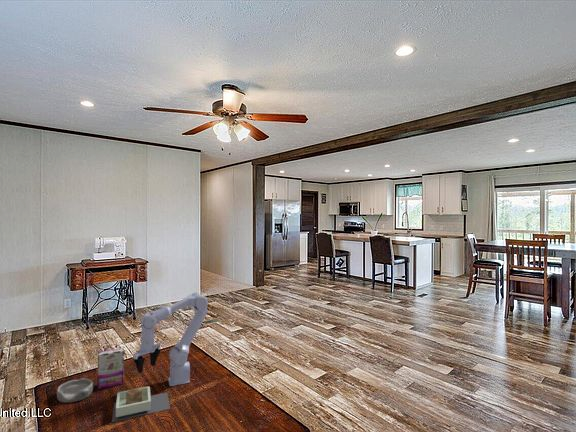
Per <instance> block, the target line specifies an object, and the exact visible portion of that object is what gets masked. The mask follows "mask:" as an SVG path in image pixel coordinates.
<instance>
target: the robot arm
mask: <svg viewBox="0 0 576 432" xmlns="http://www.w3.org/2000/svg"><path fill="white" fill-rule="evenodd" d="M208 305H209V301H208V299H207V296H204V295H202V294H200V293H198V292H193V293H192V294H188V295H187V296H186V297H184V298H182V299H180V300H179V301H177V302H175V303H173V304H172V305H169V306H168V305H164V306H163V305H161V306H160V308H158V309H155V310H152V311H150V312H148V313H144V314H143V315H142V317H141V318H140V324H141V334H140V349H139V350H138V351H136V352H135V353H133V354H132V360H133V362H134V363H135V365H136V368H137V369H136V370H137V373H140V374H141V373H143V370H144V363H145V360H146V357H145V358H144V357H143V356H145V355H147V354H149V358H150V359H149V361H150V362H149V363H150V366H153V367H155V366H156V363H157V360H158V357H159V355H160V353H161V344H160V343H156V344H155V326H157V325H156V324H157V323H160V322H162V321H164V320H165V319H166V320H167V319H168V318H170V317H171V315H172V314H173V313H175V312H176V311H179V310H181V309H184V308H186V307H190V308H193V310H194V312H195V313H194V315H193V317H192V319H191V321H190V322H189V325H187V328H186V329H185V331H184V333H183V335H182V337H181V339H180V340H179V342H177V343H176V344H175V345H174V346H173V348H171V349H170V350H169V352H168V358H169V359H170V363H169V377H168V380H167V381H168V385H169V387H174V386H179V385H184V384H188V383H191V381H190V380H191V368H190V367H191V365H190V361H187V360H188V356H189V353H190V346H191V344H192V343H193V340H194V338H195V337H196V334H197V333H198V331H199V329H200V327H201V325H202V324H203V322H204V320H205V318H206V316H207V313H208Z"/></svg>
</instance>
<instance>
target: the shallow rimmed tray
mask: <svg viewBox="0 0 576 432" xmlns="http://www.w3.org/2000/svg"><path fill="white" fill-rule="evenodd" d="M137 388H138V387H137ZM138 389H140V390H142V402H138V403H133V404H128V405H127V404H126V392H127V391H130V390H131V389H128V390H123V391H117V393H116V395H117V396H116V402H115V403H116V417H119V418H122V417H123V416H124V415H129V414H133V413H138V412H142V411H143V412H144V413H146V412H147V411H148V410H151V396H152V395H151V387H150V386H142V387H139V388H138Z"/></svg>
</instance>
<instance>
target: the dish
mask: <svg viewBox="0 0 576 432" xmlns="http://www.w3.org/2000/svg"><path fill="white" fill-rule="evenodd" d="M93 391H94V382H93V380H92V379H89V378H85V377H84V378H83V377H82V378H79V379H72V380H69V381H67V382H64V383H62V384H60V385H59V386H58V387H57V391H56V398H57V400H58V401H59V402H60V403H75V402H79V401H82V400H85V399H86V398H88V397H90V396H91V394H92V393H93Z"/></svg>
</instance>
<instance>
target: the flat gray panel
mask: <svg viewBox="0 0 576 432" xmlns="http://www.w3.org/2000/svg"><path fill="white" fill-rule="evenodd" d="M150 396H151V410H148V411H147V412H146V413H144V412H143V411H142V412H138V413H133V414H129V415H124V416H123V417H122V418H119V417H116V402H114V403H113V407H112V408H113V410H112V419H111V423H116V422H120V421H125V420H128V419H129V420H130V419H133V418H137V417H143V416H146V415H150V414H155V413H159V412H163V411H168V410H171V407H170V400H169V395H168V392H162V393H158V394H152V395H150Z"/></svg>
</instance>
